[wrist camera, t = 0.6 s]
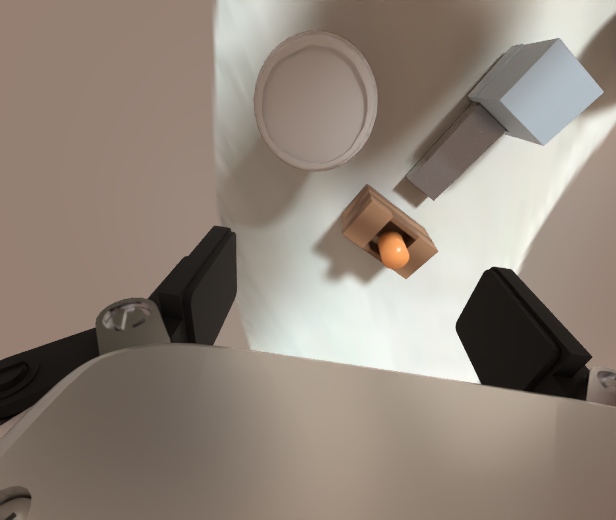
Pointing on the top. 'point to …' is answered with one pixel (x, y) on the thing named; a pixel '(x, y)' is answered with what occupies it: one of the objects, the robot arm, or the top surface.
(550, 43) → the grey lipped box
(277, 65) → the disposable coffee cup
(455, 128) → the rail
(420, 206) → the top surface
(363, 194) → the tan slotted block
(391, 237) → the peg
